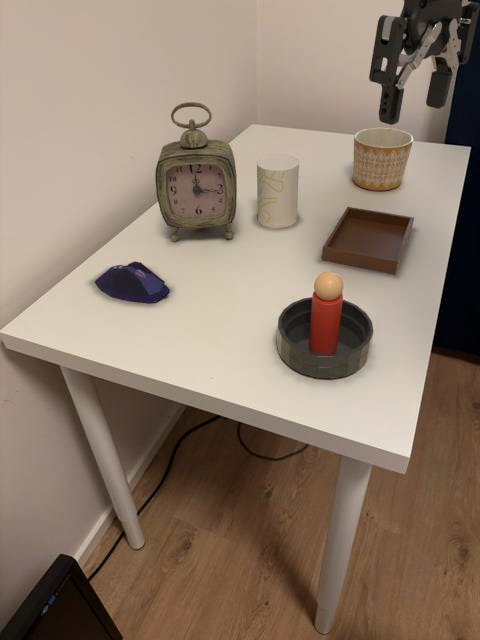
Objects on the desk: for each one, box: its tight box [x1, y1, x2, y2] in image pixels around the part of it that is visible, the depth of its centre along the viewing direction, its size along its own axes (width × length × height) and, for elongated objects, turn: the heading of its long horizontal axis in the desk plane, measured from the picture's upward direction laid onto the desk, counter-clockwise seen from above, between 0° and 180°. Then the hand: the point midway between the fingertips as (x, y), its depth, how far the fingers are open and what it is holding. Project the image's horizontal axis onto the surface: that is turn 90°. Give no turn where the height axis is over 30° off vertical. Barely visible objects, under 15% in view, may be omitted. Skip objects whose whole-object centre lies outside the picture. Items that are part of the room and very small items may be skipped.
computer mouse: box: [94, 260, 171, 304], centre depth 83 cm, size 9×15×4 cm, turn 58°
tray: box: [321, 206, 415, 275], centre depth 91 cm, size 17×13×3 cm
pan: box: [276, 296, 374, 379], centre depth 69 cm, size 13×13×4 cm
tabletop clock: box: [154, 101, 238, 242], centre depth 89 cm, size 14×9×25 cm, turn 90°
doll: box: [309, 271, 345, 354], centre depth 66 cm, size 4×4×12 cm
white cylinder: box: [256, 154, 300, 229], centre depth 97 cm, size 8×8×12 cm
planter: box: [352, 127, 414, 192], centre depth 110 cm, size 13×13×10 cm
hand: (412, 114), depth 56 cm, fingers open, 8 cm apart
